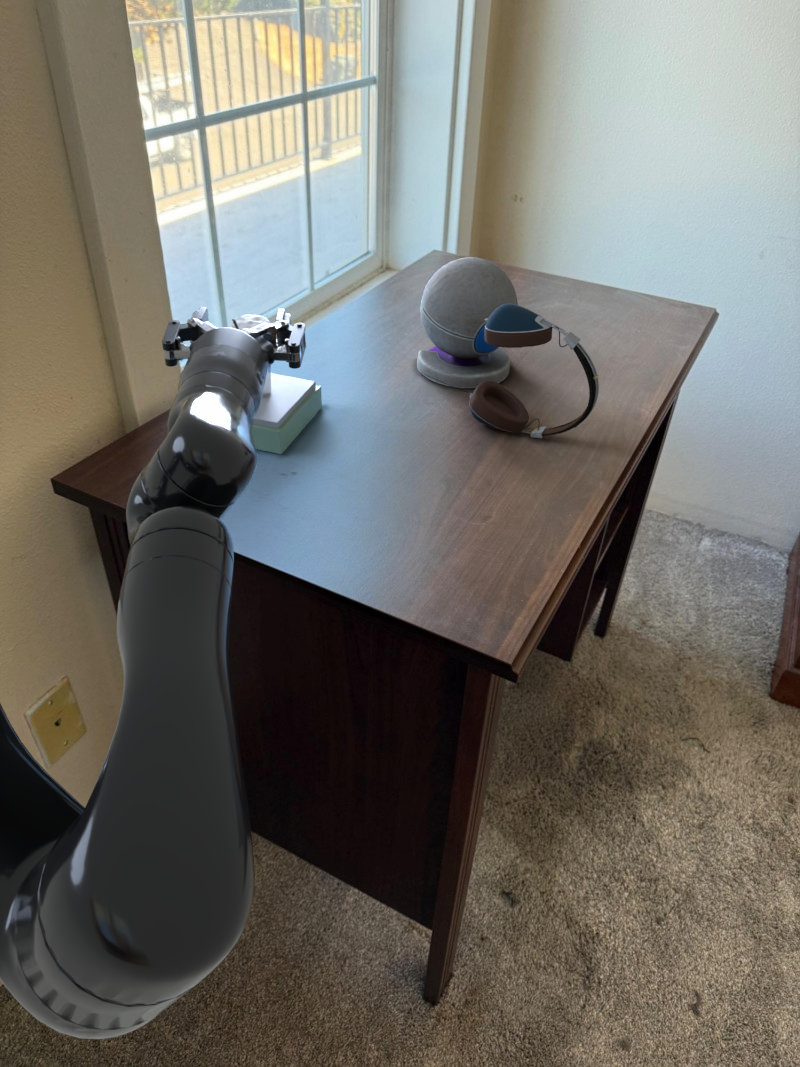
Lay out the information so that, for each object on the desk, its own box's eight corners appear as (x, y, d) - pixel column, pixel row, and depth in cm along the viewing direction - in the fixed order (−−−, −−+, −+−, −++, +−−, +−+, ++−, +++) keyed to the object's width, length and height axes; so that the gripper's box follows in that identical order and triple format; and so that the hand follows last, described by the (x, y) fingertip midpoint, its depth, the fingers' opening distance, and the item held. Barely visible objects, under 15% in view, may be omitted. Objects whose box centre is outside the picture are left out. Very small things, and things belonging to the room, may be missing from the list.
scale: (185, 434, 88) (181, 405, 86) (234, 390, 97) (231, 363, 95) (281, 454, 85) (279, 425, 83) (322, 407, 94) (321, 380, 92)
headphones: (405, 404, 94) (569, 468, 87) (422, 288, 84) (609, 350, 78) (427, 385, 98) (585, 444, 92) (446, 272, 88) (624, 330, 82)
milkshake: (226, 396, 88) (216, 315, 82) (253, 379, 92) (246, 299, 85) (257, 406, 86) (250, 324, 80) (284, 388, 90) (279, 308, 84)
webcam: (473, 341, 112) (483, 239, 103) (528, 375, 104) (545, 267, 94) (400, 359, 106) (404, 252, 97) (452, 397, 98) (462, 284, 89)
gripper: (153, 417, 72) (184, 346, 85) (300, 419, 73) (309, 348, 86) (139, 344, 68) (174, 281, 80) (297, 347, 69) (307, 284, 81)
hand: (244, 316), depth 83 cm, fingers open, 8 cm apart
